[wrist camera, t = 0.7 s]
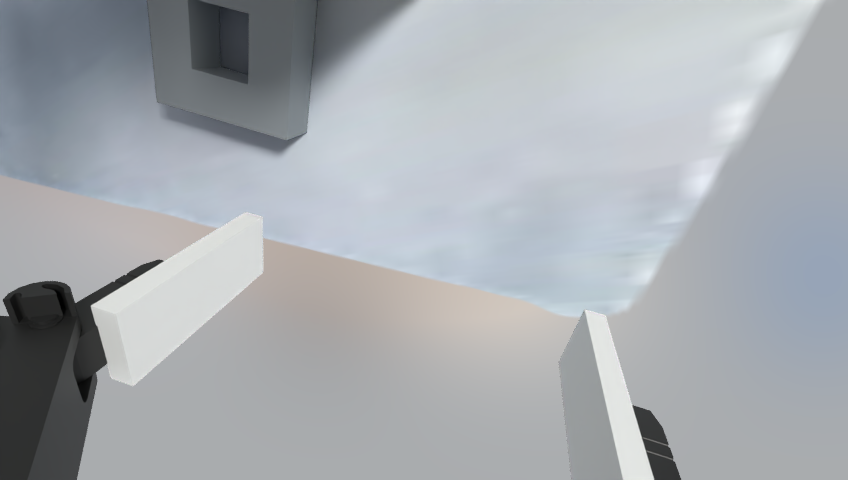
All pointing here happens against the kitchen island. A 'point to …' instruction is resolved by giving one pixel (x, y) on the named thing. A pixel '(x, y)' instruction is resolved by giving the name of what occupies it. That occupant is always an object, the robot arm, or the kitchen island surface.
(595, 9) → the kitchen island surface
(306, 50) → the socket block
